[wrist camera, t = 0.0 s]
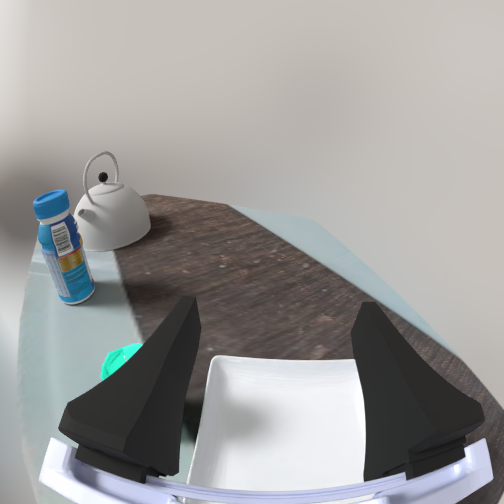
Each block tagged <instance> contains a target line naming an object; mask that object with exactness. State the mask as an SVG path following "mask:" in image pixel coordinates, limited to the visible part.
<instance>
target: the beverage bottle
mask: <svg viewBox="0 0 504 504" xmlns="http://www.w3.org/2000/svg"><path fill="white" fill-rule="evenodd" d="M69 206H70V205H69V200H68V195H67V192H66V190H55V191H52V192H49V193H46V194H43V195H42V196H39V197H38V198H36V199H35V200H34V202H33V207H34V211H35V214H36V218H37V220H38V221H41V222H40V226H39V231H38V239H39V242H40V243H41V244H42V254H43V257H44V259H45V261H46V264H47V266H48V269H49V272H50V274H51V277H52V279H53V282H54V284H55V287H56V289H57V292H58V294H59V297H60V299H61V300H62V301H63V302H64V303H66V304H78V303H81V302H83V301H85V300H87V299H88V298H89V297H90V296H91V295H92V294H93V292H94V290H95V283H94V280H93V278H92V275H91V272H90V269H89V266H88V262H87V259H86V255H85V252H84V248H83V240H82V237H81V235H80V234H79V233H78V224H77V222H76V220H75V219H74V217H73V216H72V215H71V214H70V213H69V212H68V210H69Z"/></svg>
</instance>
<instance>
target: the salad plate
mask: <svg viewBox="0 0 504 504" xmlns="http://www.w3.org/2000/svg"><path fill="white" fill-rule="evenodd" d="M365 443H366V429H365V410H364V399H363V393H362V388H361V384H360V379H359V375H358V371H357V366H356V362H355V359H347V360H275V359H259V358H245V357H234V356H215V357H214V358H213V359H212V361H211V364H210V368H209V373H208V379H207V385H206V391H205V397H204V402H203V408H202V414H201V419H200V425H199V430H198V435H197V440H196V445H195V450H194V454H193V458H192V462H191V466H190V470H189V474H188V478H187V483H186V484H191V485H197V486H204V487H212V488H220V489H231V490H246V491H297V490H311V489H322V488H331V487H338V486H345V485H351V484H357V483H362V482H364V480H363V471H364V462H365ZM374 494H376V493H374ZM374 494H369V495H365V496H360V497H355V498H349V499H343V500H337V501H329V502H321V503H311V504H349V503H354V502H359V501H364V500H369V499H371V498H372V497H373V496H374ZM183 503H189V504H228V503H218V502H210V501H203V500H196V499H190V498H183Z"/></svg>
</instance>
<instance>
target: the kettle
mask: <svg viewBox="0 0 504 504" xmlns="http://www.w3.org/2000/svg"><path fill="white" fill-rule="evenodd" d="M103 154H107V155H109V156H111V158H112V159H113V161H114V164H115V169H116V179H115V182H106V180H107V179H108V176H107V174H106V173H105V172H102V173H100V174H99V181H100V182H102V184H99V185H97V186H95V187H93V188H91V189H90V190H89V191H88V188H87V181H86V177H87V171H88V168H89V166H90V164H91V162H92V161H93V160H94V159H95V158H97V157H99V156H101V155H103ZM118 175H119V173H118V165H117V161H116V159H115V157H114V155H113V154H112V153H110V152H107V151H104V152H100V153H98V154H96V155H95V156H93V157H92V158H91V159H90V160H89V162H88V163H87V165H86V167H85V170H84V175H83V184H84V189H85V193H86V194H85V195H84V196H83V197H82V199H81V200H80V202H79V204H78V205H77V208H76V210H75V213H74V219H75V220H76V222H77V224H78V233H79V234H80V235H81V237H82V240H83V248H84V251H89V252H102V251H109V250H114V249H118V248H121V247H124V246H127V245H129V244H131V243H134V242H135V241H137V240H139V239H141V238H142V237H143V236H145V235H146V234H147V233H148V231H149V230H150V228H151V223H150V219H149V214H148V210H147V207H146V205H145V202H144V201H143V199H142V198H141V196H140V195H139V194H138V193H137V192H136V191H134V190H133V189H132V188H130V187H128V186H126V185H124V184H122V183H118Z"/></svg>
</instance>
